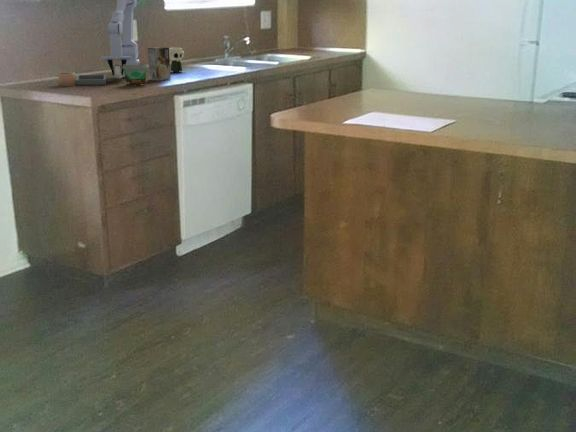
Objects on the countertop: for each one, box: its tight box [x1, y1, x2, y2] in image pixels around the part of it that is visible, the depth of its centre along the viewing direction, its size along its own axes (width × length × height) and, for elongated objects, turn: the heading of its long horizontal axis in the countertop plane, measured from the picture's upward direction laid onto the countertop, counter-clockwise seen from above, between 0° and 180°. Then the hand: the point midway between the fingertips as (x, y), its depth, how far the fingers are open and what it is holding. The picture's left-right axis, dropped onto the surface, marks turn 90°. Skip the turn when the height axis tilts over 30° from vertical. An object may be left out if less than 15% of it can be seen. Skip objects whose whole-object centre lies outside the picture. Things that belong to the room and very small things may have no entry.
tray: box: [76, 74, 107, 86], centre depth 365 cm, size 14×20×2 cm
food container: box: [121, 63, 149, 86], centre depth 355 cm, size 12×6×10 cm, turn 118°
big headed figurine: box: [168, 47, 185, 73], centre depth 406 cm, size 11×7×13 cm, turn 129°
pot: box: [57, 71, 77, 87], centre depth 353 cm, size 8×8×6 cm
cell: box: [113, 64, 123, 79], centre depth 370 cm, size 4×4×7 cm
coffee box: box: [147, 46, 171, 81], centre depth 375 cm, size 9×6×16 cm
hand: (117, 74), depth 371 cm, fingers closed on cell, 4 cm apart
